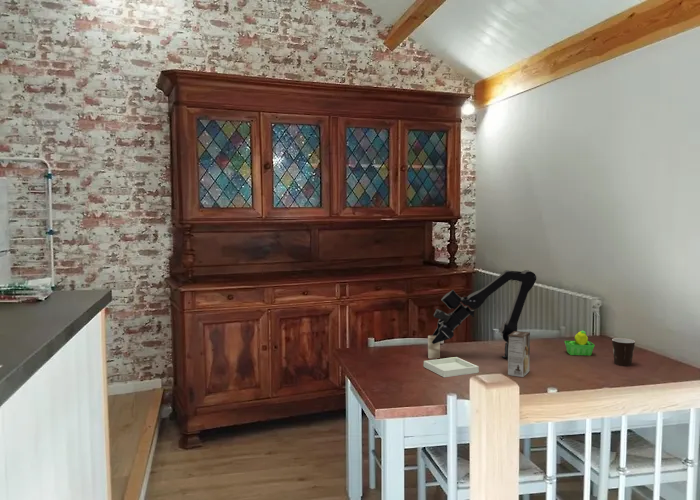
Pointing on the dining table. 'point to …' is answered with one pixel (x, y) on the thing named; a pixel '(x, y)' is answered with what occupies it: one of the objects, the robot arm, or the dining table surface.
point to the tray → (451, 367)
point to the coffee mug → (623, 351)
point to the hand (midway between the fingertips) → (432, 340)
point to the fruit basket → (580, 345)
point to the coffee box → (518, 353)
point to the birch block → (433, 348)
